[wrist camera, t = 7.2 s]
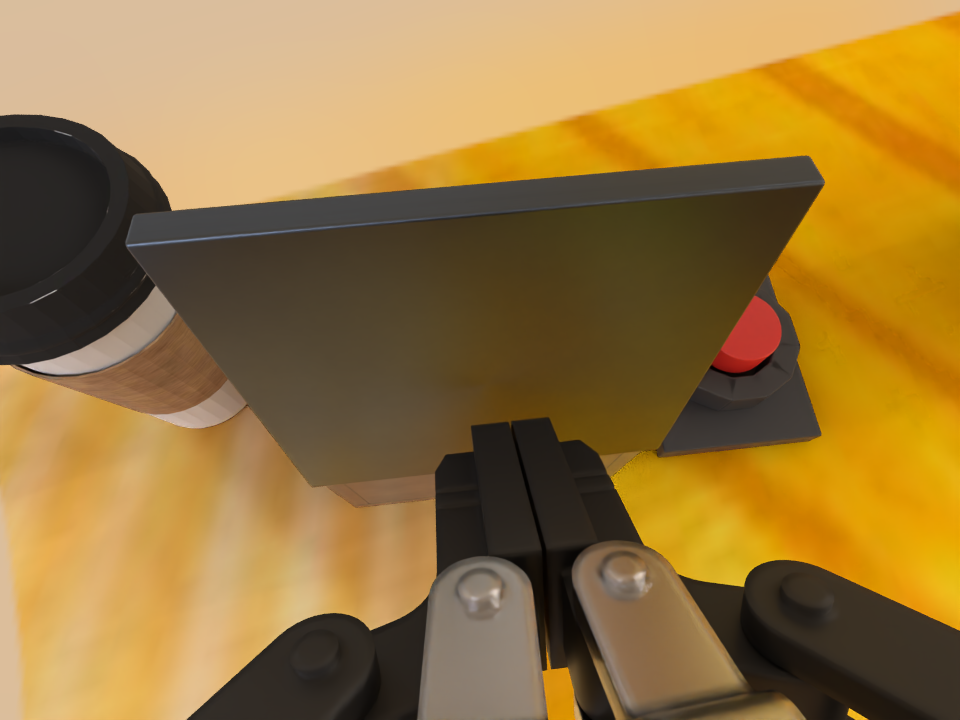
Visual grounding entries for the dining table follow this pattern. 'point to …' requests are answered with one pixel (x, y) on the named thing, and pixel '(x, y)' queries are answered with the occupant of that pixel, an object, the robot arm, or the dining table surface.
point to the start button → (750, 339)
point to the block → (748, 402)
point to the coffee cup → (93, 278)
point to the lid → (475, 305)
